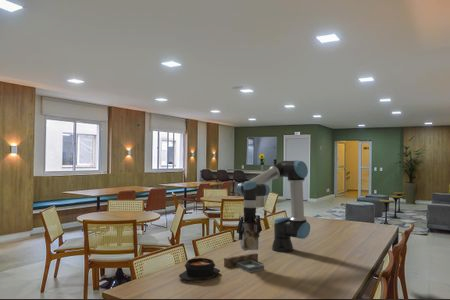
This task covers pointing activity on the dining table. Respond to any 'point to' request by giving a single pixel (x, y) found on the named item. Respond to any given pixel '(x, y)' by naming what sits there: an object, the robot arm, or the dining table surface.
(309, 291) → the dining table surface
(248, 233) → the coffee box
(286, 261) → the dining table surface
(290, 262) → the dining table surface
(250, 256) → the edge bar
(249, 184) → the robot arm
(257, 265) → the tray
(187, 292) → the dining table surface
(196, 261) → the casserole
